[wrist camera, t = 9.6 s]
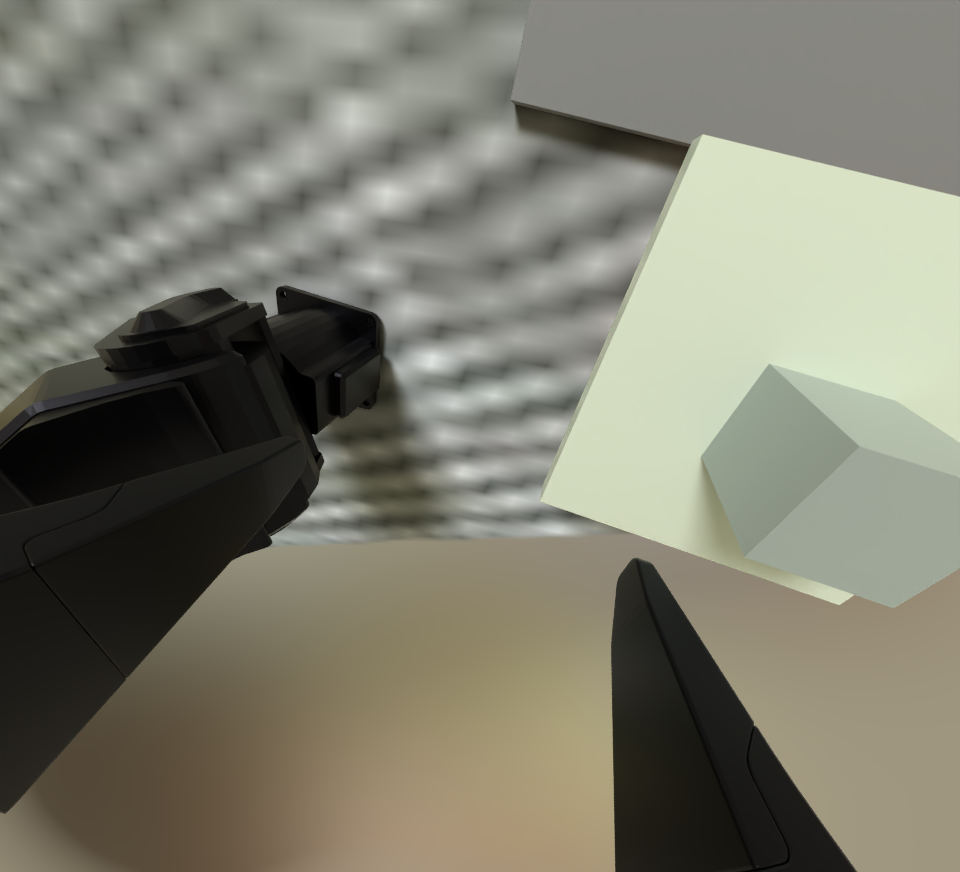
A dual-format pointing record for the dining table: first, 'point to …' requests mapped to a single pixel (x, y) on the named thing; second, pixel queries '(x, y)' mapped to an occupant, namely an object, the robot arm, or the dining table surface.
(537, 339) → the dining table surface
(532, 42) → the grey square panel
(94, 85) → the dining table surface
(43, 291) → the dining table surface
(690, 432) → the cover
